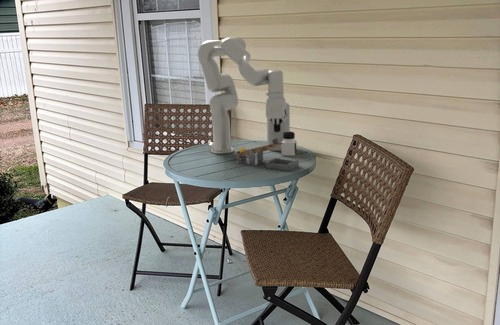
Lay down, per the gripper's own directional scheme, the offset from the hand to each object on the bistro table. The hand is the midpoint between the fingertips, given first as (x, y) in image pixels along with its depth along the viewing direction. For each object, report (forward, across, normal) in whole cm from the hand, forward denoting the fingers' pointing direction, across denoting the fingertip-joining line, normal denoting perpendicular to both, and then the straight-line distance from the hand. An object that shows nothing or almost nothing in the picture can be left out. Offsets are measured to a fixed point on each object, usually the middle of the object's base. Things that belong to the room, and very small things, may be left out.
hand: (277, 131), depth 258 cm
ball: (+9, -14, -10) cm, 20 cm away
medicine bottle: (+15, -1, +14) cm, 20 cm away
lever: (+9, -6, -6) cm, 13 cm away
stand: (+15, -10, -10) cm, 21 cm away
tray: (+15, +8, -10) cm, 20 cm away
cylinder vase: (+15, -12, +22) cm, 29 cm away
